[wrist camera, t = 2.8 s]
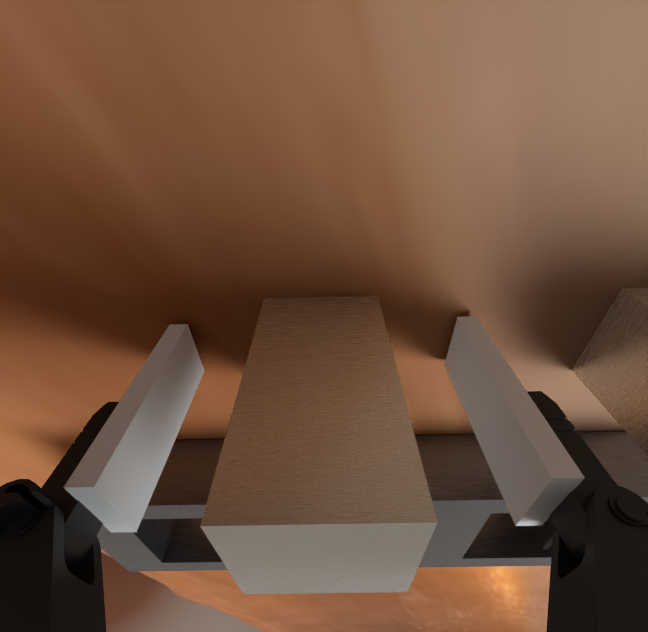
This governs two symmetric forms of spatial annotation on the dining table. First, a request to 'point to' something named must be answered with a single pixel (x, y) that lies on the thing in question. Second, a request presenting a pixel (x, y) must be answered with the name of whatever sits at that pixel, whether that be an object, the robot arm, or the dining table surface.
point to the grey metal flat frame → (444, 486)
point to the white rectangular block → (621, 363)
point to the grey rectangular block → (320, 458)
